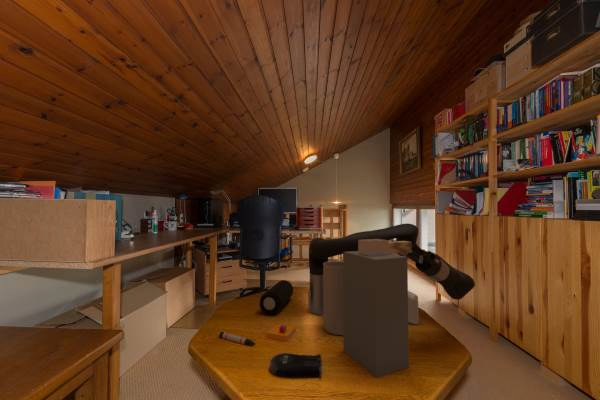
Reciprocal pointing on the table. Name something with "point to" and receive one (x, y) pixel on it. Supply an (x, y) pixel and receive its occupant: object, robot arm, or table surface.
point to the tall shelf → (376, 311)
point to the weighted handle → (382, 247)
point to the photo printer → (413, 308)
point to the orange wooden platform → (281, 332)
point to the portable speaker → (276, 297)
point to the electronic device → (296, 365)
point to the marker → (236, 339)
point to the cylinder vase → (333, 297)
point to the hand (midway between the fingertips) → (402, 245)
